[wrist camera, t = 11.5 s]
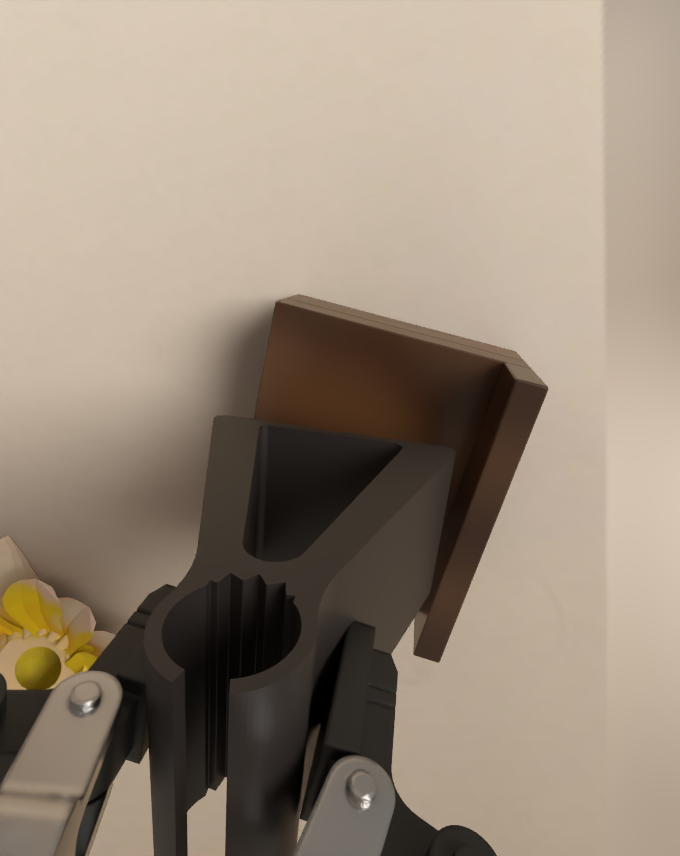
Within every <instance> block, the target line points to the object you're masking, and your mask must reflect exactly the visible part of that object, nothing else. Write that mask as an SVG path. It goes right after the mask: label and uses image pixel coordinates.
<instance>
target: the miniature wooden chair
mask: <svg viewBox="0 0 680 856" xmlns="http://www.w3.org/2000/svg"><path fill="white" fill-rule="evenodd" d="M547 391H548V387H547V385H546V384H545V383H544V382H543V381H542V380H541V379H540V378H539V377H538V376H537V374H536V373H535V372H534V371H533V370H532V369H531V368H530V367H529V366H528V364H527V363H526V362H525V361H524V360H523V359H522V358H521V357H520V356H519V355H518V354H517V353H516V352H515V351H512V350H508V349H504V348H500V347H496V346H493V345H489V344H485V343H481V342H478V341H474V340H470V339H466V338H462V337H459V336H455V335H451V334H447V333H443V332H440V331H436V330H432V329H428V328H425V327H421V326H417V325H413V324H409V323H406V322H402V321H398V320H394V319H390V318H387V317H383V316H379V315H375V314H372V313H368V312H364V311H360V310H356V309H353V308H349V307H345V306H341V305H337V304H334V303H330V302H326V301H322V300H319V299H315V298H311V297H307V296H303V295H300V294H298V295H295V296H292V297H289V298H285V299H282V300H279V301H276V303H275V308H274V314H273V319H272V324H271V330H270V335H269V340H268V346H267V351H266V356H265V362H264V367H263V372H262V378H261V383H260V388H259V394H258V399H257V404H256V410H255V415H254V420H261V421H268V422H275V423H282V424H289V425H296V426H303V427H310V428H317V429H324V430H329V432H333V433H337V432H345V433H352V434H360V435H367V436H374V437H381V438H388V439H395V440H402V441H409V442H416V443H423V444H430V445H437V446H444V447H449V448H452V449H454V450H455V451H456V455H455V460H454V466H453V471H452V477H451V482H450V488H449V493H448V499H447V504H446V510H445V515H444V521H443V526H442V532H441V537H440V542H439V548H438V553H437V559H436V564H435V570H434V575H433V581H432V586H431V592H430V594H429V595H428V597H427V598H426V600H425V602H424V603H423V605H422V606H421V608H420V610H419V611H418V613H417V614H416V616H415V622H414V655H415V656H419V657H422V658H425V659H428V660H431V661H435V662H440V659H441V657H442V654H443V652H444V649H445V647H446V644H447V642H448V639H449V637H450V634H451V632H452V629H453V627H454V624H455V622H456V619H457V617H458V614H459V612H460V609H461V607H462V604H463V602H464V599H465V597H466V594H467V592H468V589H469V587H470V584H471V582H472V579H473V577H474V574H475V572H476V569H477V567H478V564H479V562H480V559H481V557H482V554H483V552H484V549H485V547H486V544H487V542H488V539H489V537H490V534H491V532H492V529H493V527H494V524H495V522H496V519H497V517H498V514H499V512H500V509H501V506H502V504H503V501H504V499H505V496H506V494H507V491H508V489H509V486H510V484H511V481H512V479H513V476H514V474H515V471H516V469H517V466H518V464H519V461H520V459H521V456H522V454H523V451H524V449H525V446H526V444H527V441H528V439H529V436H530V434H531V431H532V429H533V426H534V424H535V421H536V419H537V416H538V414H539V411H540V409H541V406H542V404H543V401H544V399H545V396H546V394H547Z"/></svg>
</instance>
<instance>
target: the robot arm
mask: <svg viewBox="0 0 680 856" xmlns="http://www.w3.org/2000/svg"><path fill="white" fill-rule="evenodd" d="M175 588H176V587H175V586H171V585H168V584H166V585H164V586H162V587H161V588H159V589H157V590H156V591H154V592H152V593H150V594H149V595H148V596H147V597H146V599H145V600H144V601H143V602H142V604H141V605H140V606H139V607H138V609H137V611H136V612H134V614H133V615H132V616H131V617H130V619H129V620H128V622H127V624H125V625H124V626H123V627H122V629H121V630H120V631H119V632H118V633H117V635H116V636H115V637H114V638H113V640H112V641H111V642H110V643H109V645H108V646H107V647H106V648H105V650H104V651H103V652H102V653H101V655H100V656H99V657H98V658H97V660H96V661H95V662H94V663H93V665H92V666H91V667H90V668H89V669H88V670H87V671H84V672H80V673H77V674H74V675H72V676H70V677H68V678H66V679H64V680H63V681H61V682H60V683H59V684H58V685H57V686H56V687H55V688H52V689H46V690H8V689H7V682H6V680H5V678H4V676H3V675H2V674H1V673H0V856H89V854H90V851H91V848H92V845H93V842H94V839H95V836H96V833H97V831H98V828H99V825H100V822H101V819H102V816H103V813H104V810H105V807H106V805H107V802H108V799H109V796H110V793H111V790H112V786H113V781H114V779H115V777H116V775H117V774H118V772H119V770H120V769H121V767H122V765H123V764H124V762H125V760H129V761H132V762H135V763H138V764H140V762H141V760H142V758H143V757H144V755H145V753H146V751H147V749H148V748H149V739H148V718H147V697H146V676H145V656H144V632H145V627H146V624H147V622H148V619H149V617H150V615H151V614H152V612H153V611H154V609H155V608H156V607H157V606H158V604H159V603H160V602H161V601H162V600H163V599H164V598H165V597H167V596H168V595H169V594H170V593H171V592H172V591H173V590H174V589H175ZM375 632H376V627H375V626H371V625H368V624H365V623H362V622H358V621H354V622H352V623H351V624H350V625H349V627H348V628H347V631H346V635H345V639H344V642H343V646H342V649H341V653H340V656H339V660H338V663H337V667H336V671H335V674H334V678H333V681H332V685H331V688H330V692H329V696H328V699H327V703H326V706H325V710H324V713H323V717H322V721H321V724H320V729H319V733H318V738H317V742H316V747H315V751H314V755H313V760H312V764H311V769H310V773H309V778H308V782H307V787H306V791H305V796H304V800H303V805H302V809H301V814H300V818H299V819H302V820H305V821H307V823H306V825H305V827H304V830H303V832H302V834H301V836H300V839H299V841H298V843H297V845H296V848H295V850H294V852H293V854H292V856H497V855H496V854H495V852H494V850H493V849H492V848H491V846H490V845H489V844H488V843H487V842H486V841H485V840H484V839H483V838H482V837H481V836H480V835H478V834H477V833H476V832H474V831H472V830H471V829H469V828H466V827H463V826H459V825H450V826H446V827H444V828H442V829H440V830H439V831H438V830H436V829H435V828H434V827H432V826H431V825H429V824H428V823H427V822H425V821H424V820H422V819H421V818H420V817H418V816H417V815H416V814H415V813H413V812H412V811H411V810H410V809H409V808H408V807H407V806H406V805H405V803H404V802H403V801H402V799H401V798H400V796H399V794H398V793H397V790H396V788H395V786H394V783H393V779H392V773H391V764H392V749H393V735H394V720H395V705H396V691H397V676H398V672H397V669H396V666H395V664H394V661H393V658H392V656H391V654H389V653H386V652H383V651H380V650H377V649H373V647H374V639H375Z"/></svg>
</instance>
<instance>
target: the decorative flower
mask: <svg viewBox="0 0 680 856" xmlns="http://www.w3.org/2000/svg"><path fill="white" fill-rule="evenodd" d="M95 625H96V621H95V618H94V616H93V614H92V612H91V610H90V607H89V606H87V605H85V604H83V603H81V602H80V601H78V600H75V599H72V598H68V597H65V598H57V596H56V593H55V591H54V589H53V587H51V586H49V585H47V584H46V583H44V582H42V581H40V580H39V579H38V577H37V575H36V574H35V572H34V571H33V569H32V567H31V566H30V564H29V562H28V561H27V559H26V558H25V556H24V555H23V554H22V552H21V551H20V549H19V548H18V547H17V545H16V544H15V543H14V541H13V540H12V539H11V538H10V537H9V536H7V537H4V538H1V539H0V673H1V674H2V675H3V676H4V678H5V680H6V682H7V689H8V690H46V689H52V688H55V687H56V686H57V685H58V684H59V683H60V682H61V681H63V680H64V679H66V678H68V677H70V676H72V675H74V674H77V673H80V672H84V671H87V670H88V669H89V668H90V667H91V666H92V665H93V663H94V662H95V661H96V660H97V658H98V657H99V656H100V655H101V653H102V652H103V651H104V650H105V648H106V647H107V646H108V645H109V643H110V642H111V641H112V640H113V638H114V637H115V636H116V635H115V634H112V633H109V632H106V631H94V628H95ZM114 780H115V779H114Z"/></svg>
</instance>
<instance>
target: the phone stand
mask: <svg viewBox="0 0 680 856" xmlns="http://www.w3.org/2000/svg"><path fill="white" fill-rule="evenodd" d="M455 455H456V451H455V450H454V449H452V448H449V447H444V446H437V445H430V444H423V443H416V442H409V441H402V440H395V439H388V438H381V437H374V436H367V435H360V434H352V433H345V432H337V433H333V432H329V430H324V429H317V428H310V427H303V426H296V425H289V424H282V423H275V422H268V421H261V420H254V419H247V418H240V417H233V416H217V417H215V418H214V421H213V429H212V437H211V445H210V453H209V461H208V469H207V477H206V485H205V493H204V501H203V508H202V516H201V524H200V532H199V540H198V548H197V553H196V557H195V559H194V562H193V564H192V566H191V568H190V570H189V571H188V573H187V574H186V576H185V577H184V579H183V580H182V581H181V582H180V583H179V585H178V586H177V587H176V588H175V589H174V590H173V591H172V592H171V593H170V594H169V595H168V596H167V597H165V598H164V599H163V600H162V601H161V602H160V603H159V604H158V606H157V607H156V608H155V609H154V611H153V612H152V614H151V615H150V617H149V619H148V622H147V624H146V627H145V632H144V656H145V676H146V697H147V718H148V739H149V760H150V780H151V801H152V822H153V843H154V856H187V811H188V810H189V809H190V808H191V807H192V806H193V805H194V804H195V803H196V802H197V801H198V800H200V799H201V798H203V797H204V796H205V795H206V793H207V790H208V788H210V789H213V790H216V789H217V788H218V786H219V785H220V784H221V782H222V781H223V779H224V778H225V777H227V803H226V845H225V856H292V854H293V852H294V850H295V848H296V845H297V836H298V825H299V816H300V811H301V807H302V804H303V800H304V796H305V791H306V787H307V782H308V778H309V773H310V769H311V764H312V760H313V755H314V751H315V747H316V742H317V738H318V733H319V729H320V724H321V721H322V717H323V713H324V710H325V706H326V703H327V699H328V696H329V692H330V688H331V685H332V681H333V678H334V674H335V671H336V667H337V663H338V660H339V656H340V653H341V649H342V646H343V642H344V639H345V635H346V631H347V628H348V627H349V625H350V624H351V623H352V622H354V621H358V622H362V623H365V624H368V625H371V626H375V627H376V632H375V639H374V647H373V649H377V650H380V651H383V652H386V653H389V654H392V652H393V650H394V649H395V647H396V646H397V644H398V643H399V641H400V639H401V638H402V636H403V635H404V633H405V632H406V630H407V628H408V627H409V625H410V624H411V622H412V621H413V619H414V617H415V616H416V614H417V613H418V611H419V610H420V608H421V606H422V605H423V603H424V602H425V600H426V598H427V597H428V595H429V594H430V592H431V586H432V581H433V575H434V570H435V564H436V559H437V553H438V548H439V542H440V537H441V532H442V526H443V521H444V515H445V510H446V504H447V499H448V493H449V488H450V482H451V477H452V471H453V466H454V460H455Z"/></svg>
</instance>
